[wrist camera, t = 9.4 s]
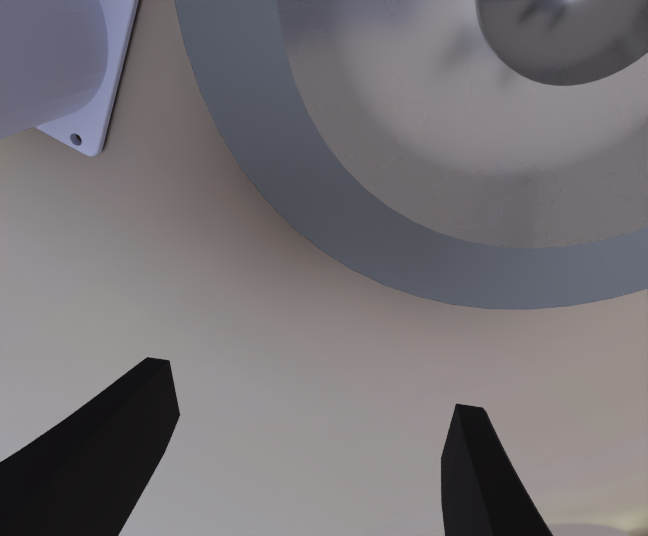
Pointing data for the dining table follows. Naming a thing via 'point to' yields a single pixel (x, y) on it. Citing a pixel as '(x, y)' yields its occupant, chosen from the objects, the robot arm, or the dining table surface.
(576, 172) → the light grey rounded piece
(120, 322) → the dining table surface
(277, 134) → the grey round plate
